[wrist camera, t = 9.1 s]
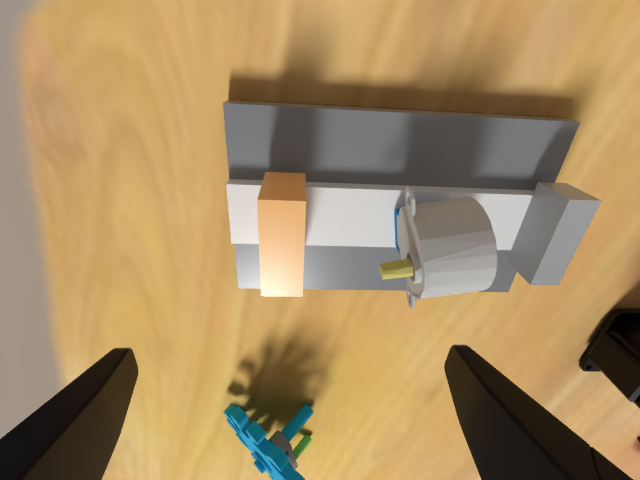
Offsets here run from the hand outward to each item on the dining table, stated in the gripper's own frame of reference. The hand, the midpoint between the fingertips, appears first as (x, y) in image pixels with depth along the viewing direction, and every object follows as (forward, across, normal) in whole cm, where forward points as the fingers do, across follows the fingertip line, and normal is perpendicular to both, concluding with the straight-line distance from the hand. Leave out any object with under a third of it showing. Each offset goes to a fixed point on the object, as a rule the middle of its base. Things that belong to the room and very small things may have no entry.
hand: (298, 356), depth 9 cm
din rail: (+12, -6, 0) cm, 13 cm away
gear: (+12, +1, +21) cm, 25 cm away
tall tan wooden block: (+10, +1, 0) cm, 10 cm away
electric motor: (+10, -6, +1) cm, 12 cm away
